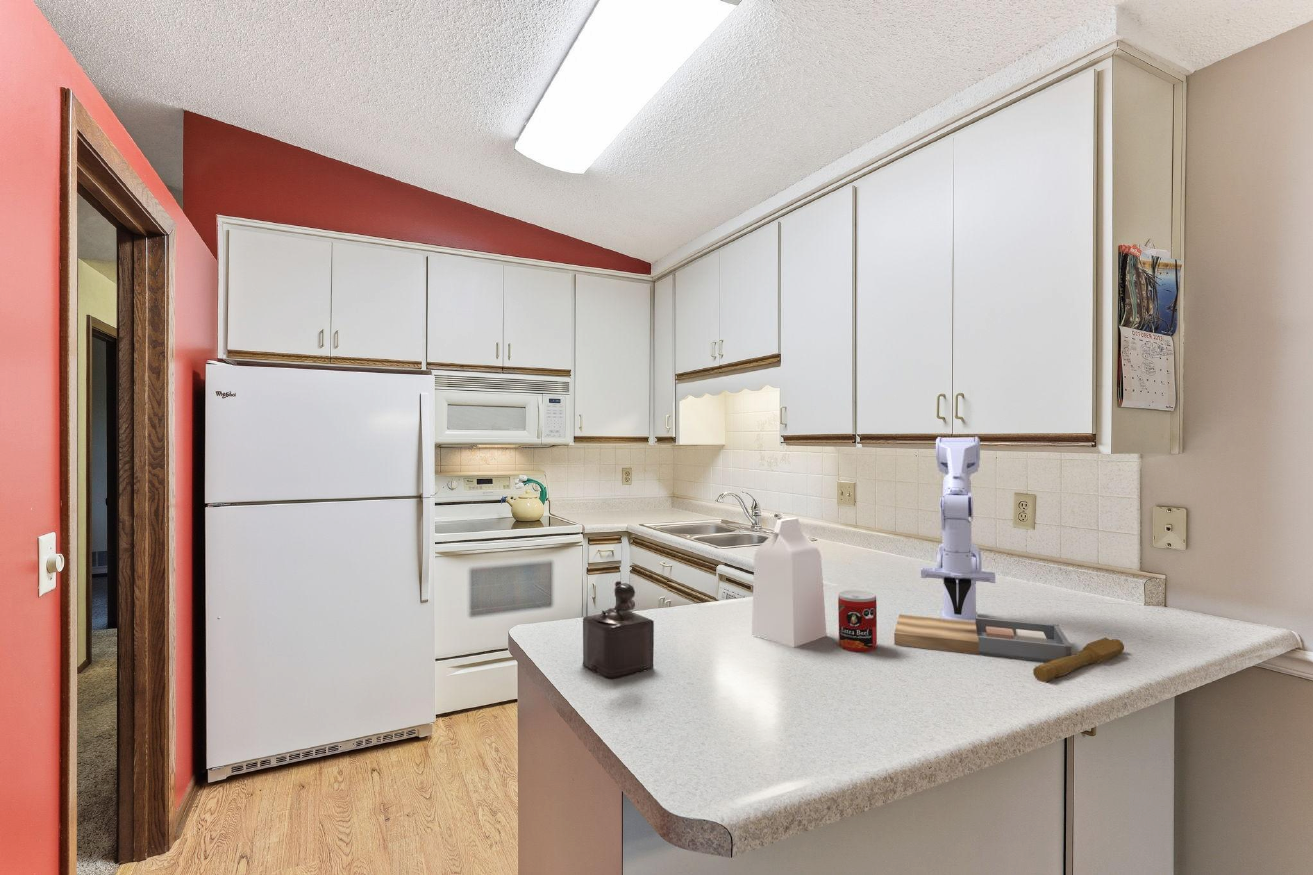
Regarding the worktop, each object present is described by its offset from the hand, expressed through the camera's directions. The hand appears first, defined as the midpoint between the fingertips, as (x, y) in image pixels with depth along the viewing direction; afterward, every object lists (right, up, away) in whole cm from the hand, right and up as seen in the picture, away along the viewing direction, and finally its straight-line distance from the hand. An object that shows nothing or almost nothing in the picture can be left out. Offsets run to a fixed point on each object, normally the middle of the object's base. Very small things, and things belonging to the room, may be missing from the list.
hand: (957, 613), depth 139 cm
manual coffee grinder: (-71, -7, -16) cm, 73 cm away
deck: (-4, -6, +2) cm, 7 cm away
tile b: (+12, -5, -6) cm, 15 cm away
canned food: (-23, -6, -3) cm, 24 cm away
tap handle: (+16, -6, -15) cm, 23 cm away
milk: (-35, -7, +5) cm, 36 cm away
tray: (+11, -6, -5) cm, 13 cm away
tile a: (+7, -5, -3) cm, 10 cm away
